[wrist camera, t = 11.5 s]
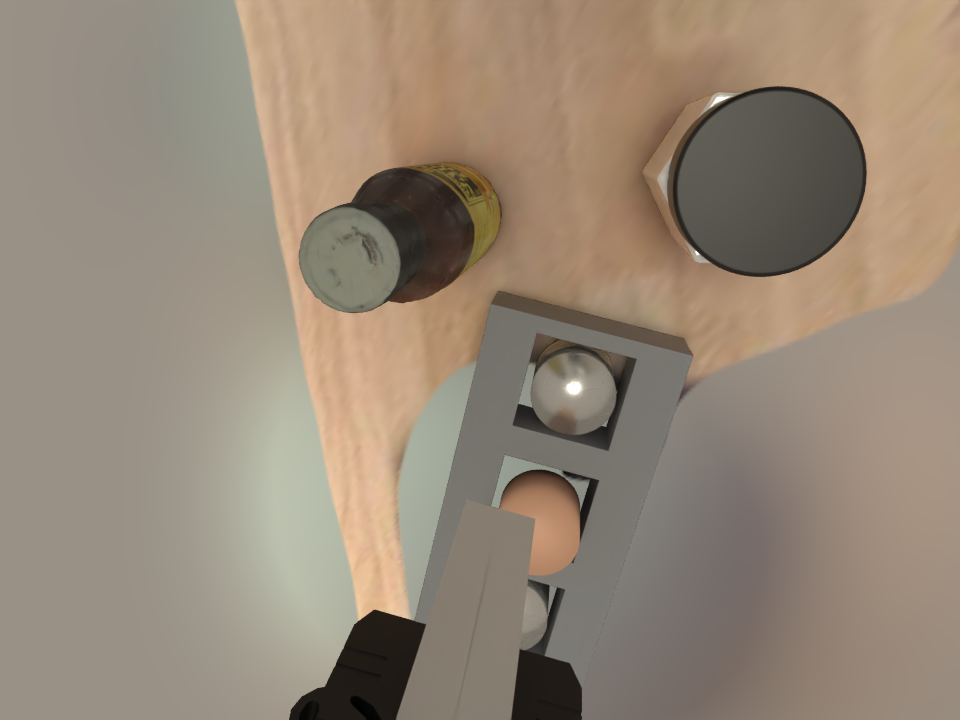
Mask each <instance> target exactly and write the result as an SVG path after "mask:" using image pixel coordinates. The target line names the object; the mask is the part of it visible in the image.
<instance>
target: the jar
mask: <svg viewBox="0 0 960 720" xmlns="http://www.w3.org/2000/svg"><path fill="white" fill-rule="evenodd" d="M866 175H867V171H866V159H865V153H864V149H863V146H862V143H861V140H860V138H859V136H858V134H857V132H856V130H855V128H854V126H853V125H852V123H851V122H850V120H849V119H848V118H847V117H846V116H845V115H844V113H843V112H842V111H840V110H839V109H838V108H837V107H836V106H835V105H834V104H832V103H831V102H829V101H828V100H826V99H825V98H823V97H821V96H819V95H817V94H814V93H812V92H809V91H806V90H803V89H799V88H793V87H783V86H774V87H764V88H759V89H754V90H750V91H747V92H744V93H729V92H717V93H714V94H712V95H709V96H707V97H704V98H701V99H699V100H696V101H694V102H691V103H689V104H687V105H686V107H685V108H684V110H683V111H682V113H681V114H680V116H679V117H678V119H677V120H676V122H675V123H674V125H673V126H672V128H671V129H670V131H669V132H668V134H667V135H666V137H665V138H664V140H663V141H662V142H661V144H660V145H659V147H658V148H657V150H656V151H655V153H654V154H653V156H652V157H651V159H650V160H649V162H648V163H647V165H646V166H645V168H644V169H643V176H644V178H645V180H646V182H647V184H648V187H649V189H650V191H651V193H652V195H653V197H654V199H655V201H656V204H657V206H658V208H659V210H660V212H661V214H662V216H663V219H664V221H665V223H666V225H667V227H668V229H669V231H670V234H671V236H672V238H673V239H674V240H675V241H676V242H677V243H678V244H679V245H680V246H681V247H682V248H683V249H684V250H685V251H686V252H687V254H688V255H689V256H690V257H691V258H692V259H693V260H694V261H695V262H697V263H709V264H714V265H716V266H717V267H719V268H722V269H724V270H726V271H729V272H732V273H735V274H739V275H744V276H753V277H767V276H776V275H781V274H786V273H789V272H792V271H795V270H798V269H800V268H803V267H805V266H807V265H809V264H811V263H812V262H814V261H816V260H817V259H819V258H820V257H822V256H823V255H825V254H826V253H827V252H828V251H829V250H831V249H832V248H833V247H834V246H835V245H836V244H837V243H838V242H839V241H840V239H841V238H842V237H843V236H844V235H845V233H846V232H847V231H848V229H849V228H850V226H851V225H852V223H853V221H854V219H855V217H856V215H857V213H858V211H859V209H860V206H861V203H862V200H863V196H864V192H865V186H866Z"/></svg>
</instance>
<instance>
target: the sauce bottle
mask: <svg viewBox="0 0 960 720" xmlns="http://www.w3.org/2000/svg"><path fill="white" fill-rule="evenodd" d="M501 216H502V213H501V205H500V202H499V200H498V197H497V195H496V193H495V191H494V189H493V188H492V186H491V183H490V182H489V181H488V180H487V179H485V178H484V177H483V176H482V175H481V174H479V173H478V172H477V171H475V170H473V169H471V168H470V167H467V166H465V165H461V164H456V163H437V164H429V165H416V166H409V167H400V168H393V169H388V170H385V171H382V172H380V173H377V174H375V175H374V176H372V177H370V178H369V179H368V180H367V181H366V182H365V183H364V184H363V185H362V186H361V188H360V189H359V190H358V192H357V194H356V195H355V197H354V198H353V200H352V202H351V203H347V204H343V205H340V206H337V207H335V208H332V209H330V210H327V211H325V212H323V213H322V214H320V215H319V216H317V217H316V218H315V219H314V220H313V221H312V222H311V224H310V225H309V226H308V228H307V230H306V231H305V233H304V236H303V238H302V240H301V245H300V250H299V264H300V269H301V272H302V275H303V278H304V280H305V282H306V284H307V286H308V287H309V288H310V290H311V291H312V292H313V294H314V295H315V297H316V298H318V299H320V300H321V301H322V302H323V303H324V304H326V305H327V306H329V307H331V308H333V309H336V310H338V311H342V312H348V313H360V312H367V311H370V310H373V309H375V308H377V307H379V306H381V305H382V304H384V303H386V302H387V301H391V302H398V303H405V302H411V301H415V300H420V299H424V298H427V297H429V296H431V295H433V294H435V293H436V292H438V291H439V290H441V289H443V288H445V287H446V286H448V285H449V284H451V283H452V282H453V281H455V280H456V279H457V278H458V277H459V276H460V275H462V274H463V273H464V272H465V271H466V270H467V269H468V268H470V267H471V266H472V265H473V264H474V263H476V262H477V261H478V260H479V259H480V258H482V257H483V256H484V255H485V253H486V252H487V251H488V250H489V249H490V247H491V246H492V244H493V242H494V241H495V238H496V236H497V234H498V230H499V226H500V222H501Z"/></svg>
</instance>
